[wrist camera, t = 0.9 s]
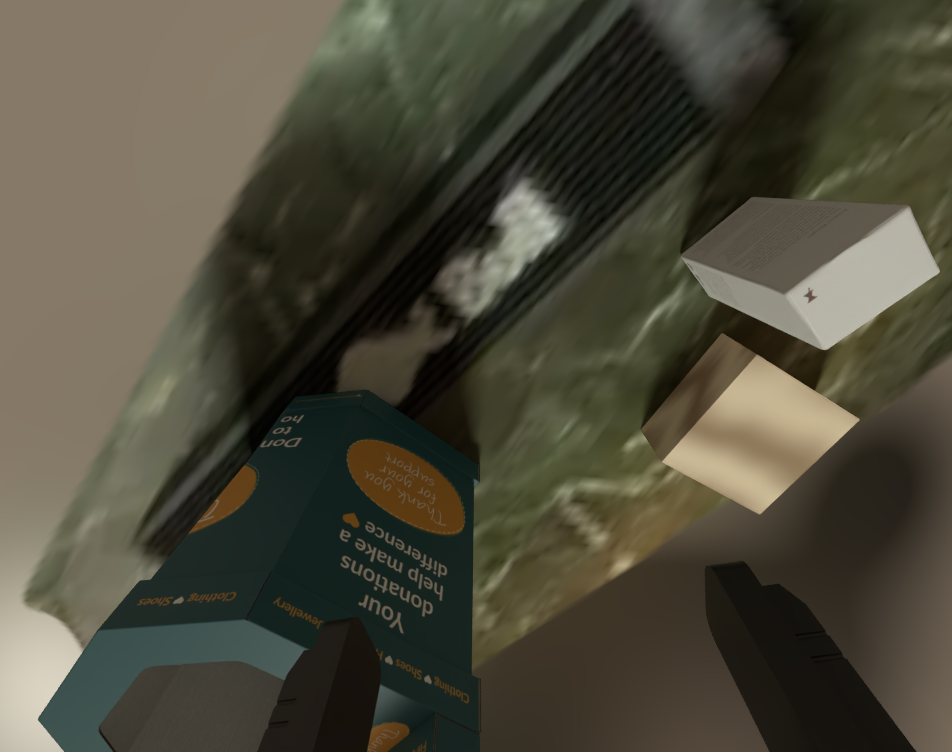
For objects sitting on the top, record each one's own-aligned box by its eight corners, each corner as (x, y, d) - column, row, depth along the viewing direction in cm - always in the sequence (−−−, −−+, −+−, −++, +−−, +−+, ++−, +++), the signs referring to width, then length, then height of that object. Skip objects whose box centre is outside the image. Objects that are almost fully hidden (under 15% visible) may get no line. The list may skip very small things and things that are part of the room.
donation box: (378, 569, 44) (242, 1099, 19) (230, 487, 40) (-198, 1016, 15) (479, 465, 39) (483, 994, 14) (322, 358, 35) (-86, 825, 10)
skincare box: (708, 297, 33) (822, 355, 22) (677, 254, 32) (781, 293, 21) (783, 240, 32) (946, 272, 21) (754, 193, 30) (910, 200, 19)
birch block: (720, 331, 35) (757, 354, 30) (812, 389, 37) (859, 419, 32) (639, 428, 38) (661, 461, 34) (727, 476, 40) (759, 514, 36)
